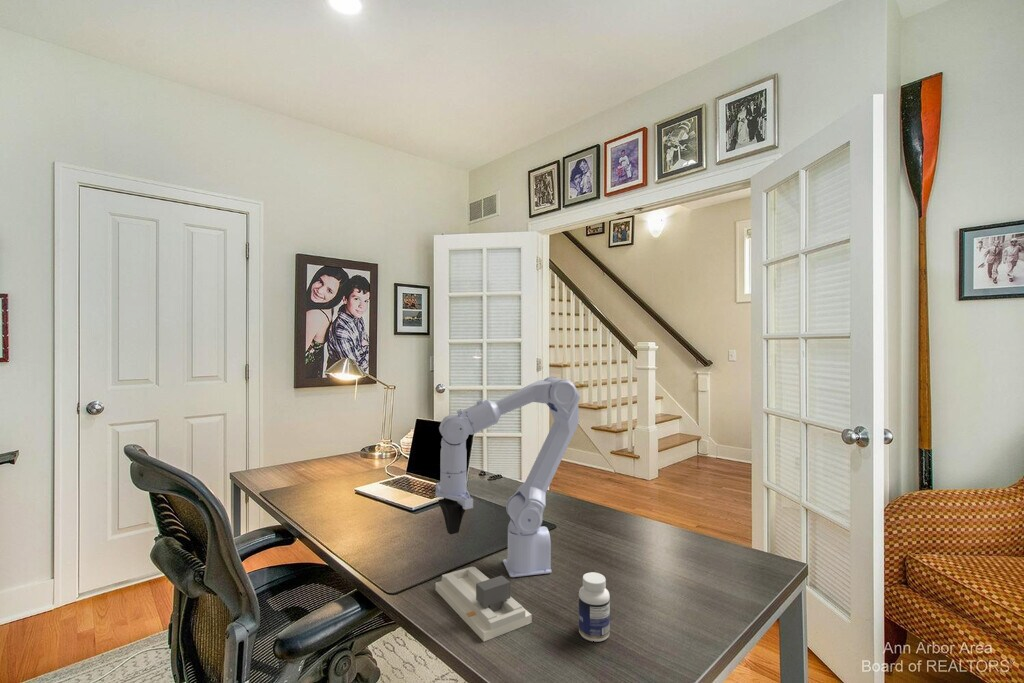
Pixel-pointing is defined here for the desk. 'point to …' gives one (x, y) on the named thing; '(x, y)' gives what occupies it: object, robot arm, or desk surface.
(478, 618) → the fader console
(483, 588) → the fader tab
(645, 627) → the desk surface
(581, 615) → the pill bottle
